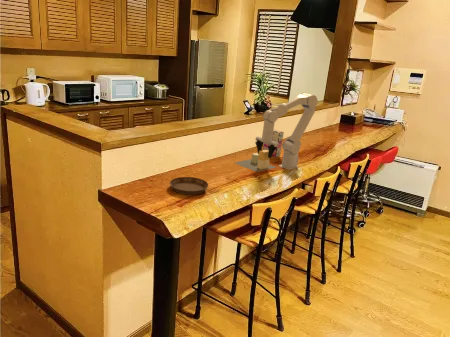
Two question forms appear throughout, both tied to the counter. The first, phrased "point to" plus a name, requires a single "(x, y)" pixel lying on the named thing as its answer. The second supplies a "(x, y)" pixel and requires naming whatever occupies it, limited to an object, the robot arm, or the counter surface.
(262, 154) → the mustard block
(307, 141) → the counter surface
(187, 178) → the plant saucer
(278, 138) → the candy bar box
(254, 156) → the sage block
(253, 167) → the rubber mat
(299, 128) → the robot arm
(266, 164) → the cream block
